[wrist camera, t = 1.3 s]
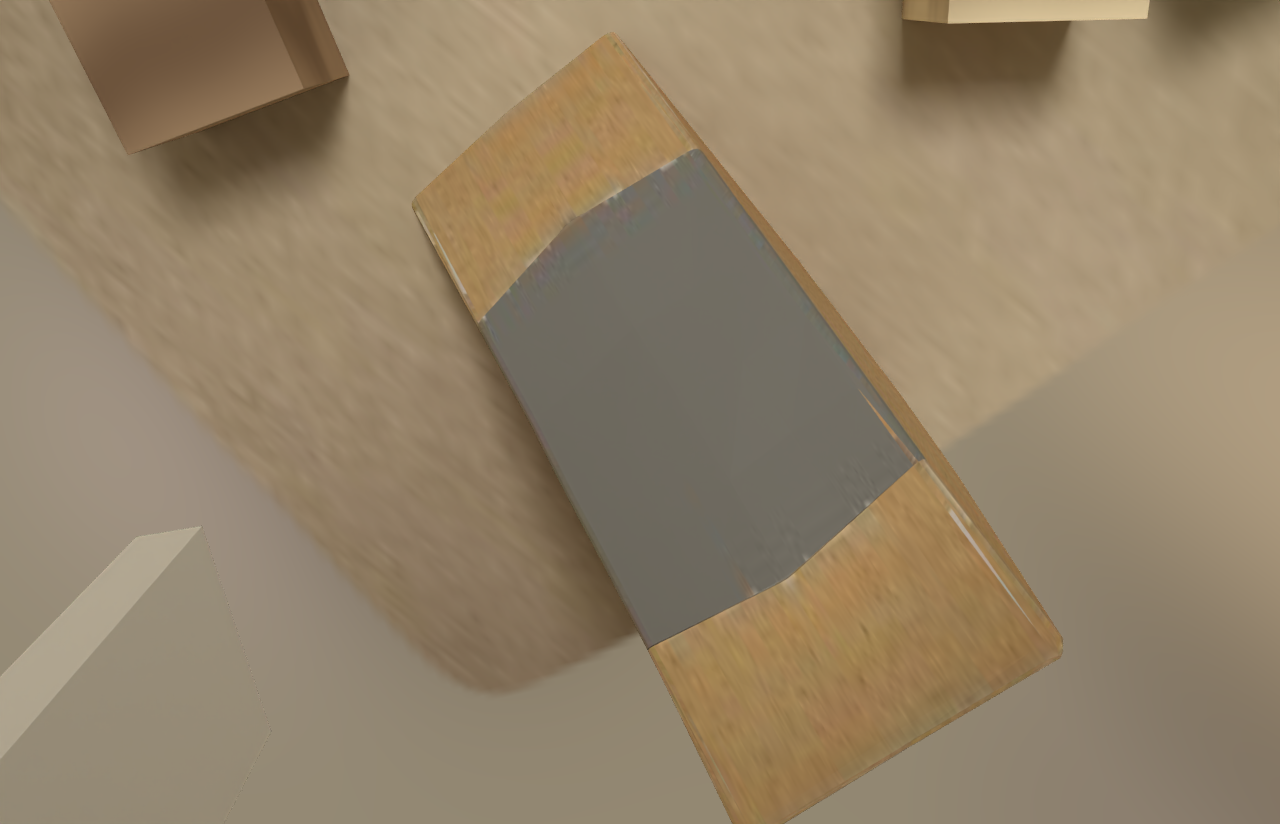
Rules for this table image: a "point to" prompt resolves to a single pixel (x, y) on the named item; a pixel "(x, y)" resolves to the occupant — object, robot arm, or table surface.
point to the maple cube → (1022, 10)
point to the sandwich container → (727, 445)
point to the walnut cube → (196, 60)
